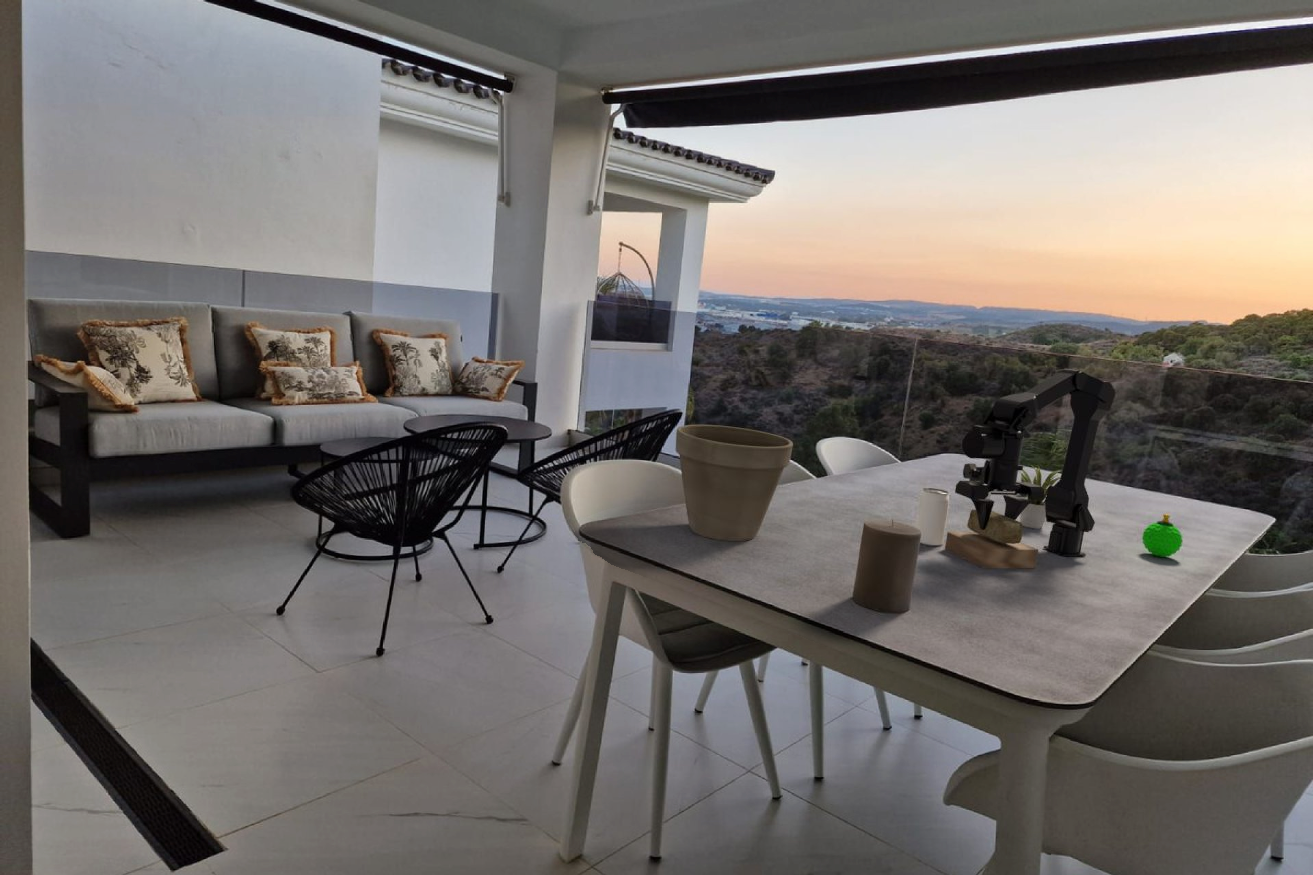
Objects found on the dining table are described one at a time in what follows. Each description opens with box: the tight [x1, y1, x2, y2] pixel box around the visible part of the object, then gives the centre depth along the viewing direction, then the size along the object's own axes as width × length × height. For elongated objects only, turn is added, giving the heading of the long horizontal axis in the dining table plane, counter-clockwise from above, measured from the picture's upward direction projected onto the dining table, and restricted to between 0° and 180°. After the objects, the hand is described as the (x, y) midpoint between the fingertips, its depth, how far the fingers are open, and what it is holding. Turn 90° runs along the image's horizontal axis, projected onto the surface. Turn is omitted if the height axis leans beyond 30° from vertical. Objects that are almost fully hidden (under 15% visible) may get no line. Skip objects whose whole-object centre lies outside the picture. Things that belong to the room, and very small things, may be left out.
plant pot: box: [675, 424, 794, 542], centre depth 179 cm, size 25×25×22 cm
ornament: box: [1141, 513, 1184, 558], centre depth 195 cm, size 8×8×10 cm
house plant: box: [1018, 465, 1061, 530], centre depth 214 cm, size 14×14×16 cm
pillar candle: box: [852, 518, 921, 614], centre depth 143 cm, size 10×10×15 cm
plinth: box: [944, 531, 1039, 569], centre depth 180 cm, size 13×13×4 cm
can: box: [914, 487, 950, 547], centre depth 188 cm, size 6×6×12 cm
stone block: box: [966, 509, 1024, 544], centre depth 179 cm, size 6×12×5 cm, turn 19°
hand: (994, 529), depth 179 cm, fingers closed on stone block, 6 cm apart
